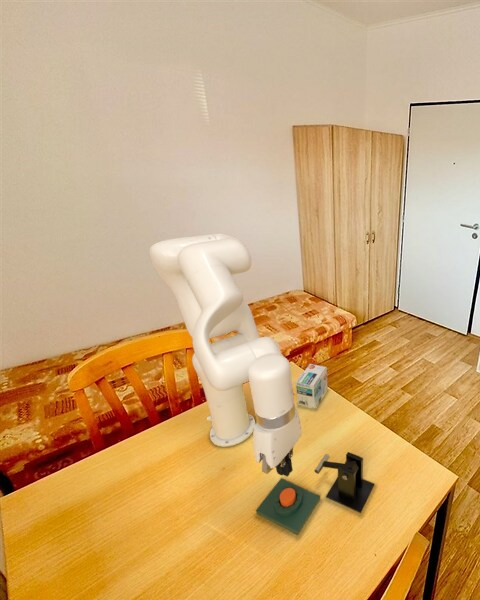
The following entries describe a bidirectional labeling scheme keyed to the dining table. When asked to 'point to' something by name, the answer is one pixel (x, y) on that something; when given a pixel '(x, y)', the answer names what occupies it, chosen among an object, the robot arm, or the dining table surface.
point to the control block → (292, 515)
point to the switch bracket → (351, 486)
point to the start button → (287, 497)
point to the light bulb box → (312, 386)
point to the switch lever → (335, 464)
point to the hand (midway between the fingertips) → (284, 471)
